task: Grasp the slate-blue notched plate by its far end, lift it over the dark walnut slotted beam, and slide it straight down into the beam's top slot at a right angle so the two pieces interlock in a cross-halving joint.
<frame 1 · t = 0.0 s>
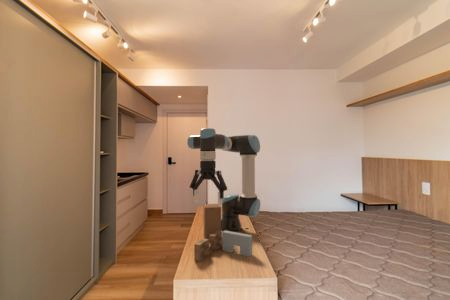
hand: (208, 204, 112), 28 cm above the bench, fingers open, 13 cm apart
notched plate: (236, 252, 122), on the bench
slotted beam: (209, 252, 122), on the bench
wooden block: (212, 238, 143), on the bench
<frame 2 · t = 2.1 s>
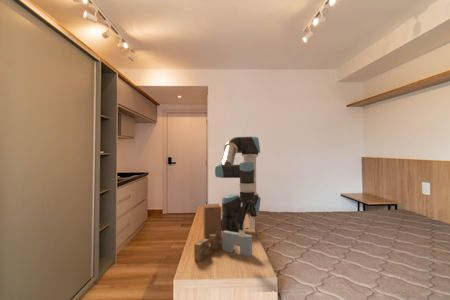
hand: (247, 232, 119), 12 cm above the bench, fingers open, 13 cm apart
nothing on the bench moved.
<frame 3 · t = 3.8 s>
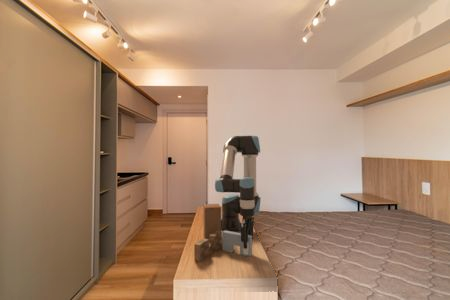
hand: (247, 252, 119), 1 cm above the bench, fingers closed on notched plate, 3 cm apart
notched plate: (236, 252, 122), on the bench, touching gripper
everything else where it was.
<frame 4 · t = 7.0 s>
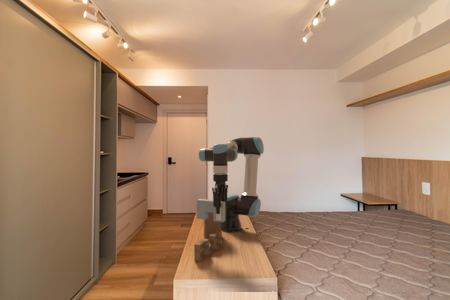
hand: (220, 218, 119), 19 cm above the bench, fingers closed on notched plate, 3 cm apart
notched plate: (210, 219, 122), point 18 cm above the bench, touching gripper
everything else where it was.
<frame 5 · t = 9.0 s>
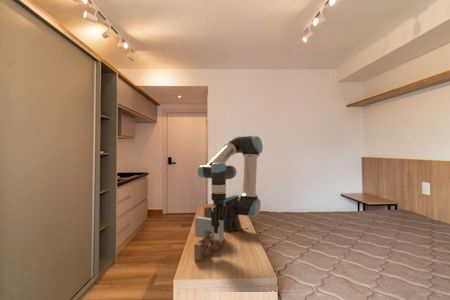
hand: (218, 237, 119), 9 cm above the bench, fingers closed on notched plate, 3 cm apart
notched plate: (209, 237, 122), point 8 cm above the bench, touching gripper
everything else where it was.
when the fingers open (3 cm above the bench, at t = 10.4 s): notched plate drops 2 cm, on the bench.
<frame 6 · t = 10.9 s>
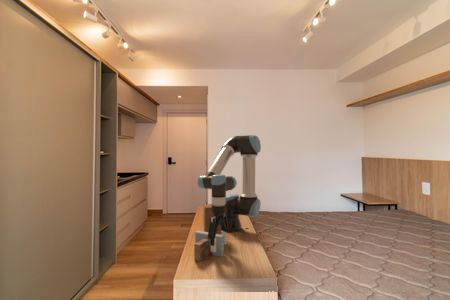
hand: (218, 247, 119), 4 cm above the bench, fingers open, 10 cm apart
notched plate: (209, 252, 122), on the bench
everything else where it was.
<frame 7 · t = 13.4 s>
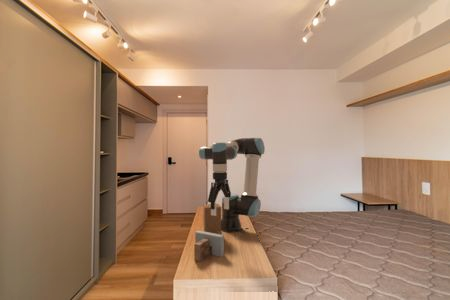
hand: (220, 212, 121), 22 cm above the bench, fingers open, 13 cm apart
nothing on the bench moved.
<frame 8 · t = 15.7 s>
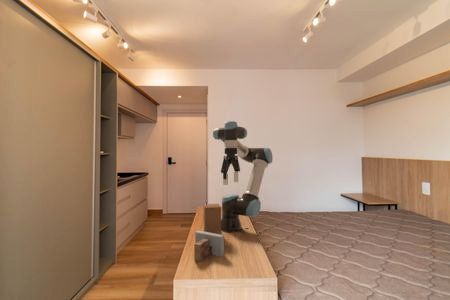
hand: (231, 183, 136), 35 cm above the bench, fingers open, 13 cm apart
nothing on the bench moved.
at the end: notched plate 0.1 cm off-centre on the slotted beam, point 0.0 cm above the slotted beam's base; notched plate tilted 0°; the gripper is holding nothing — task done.
